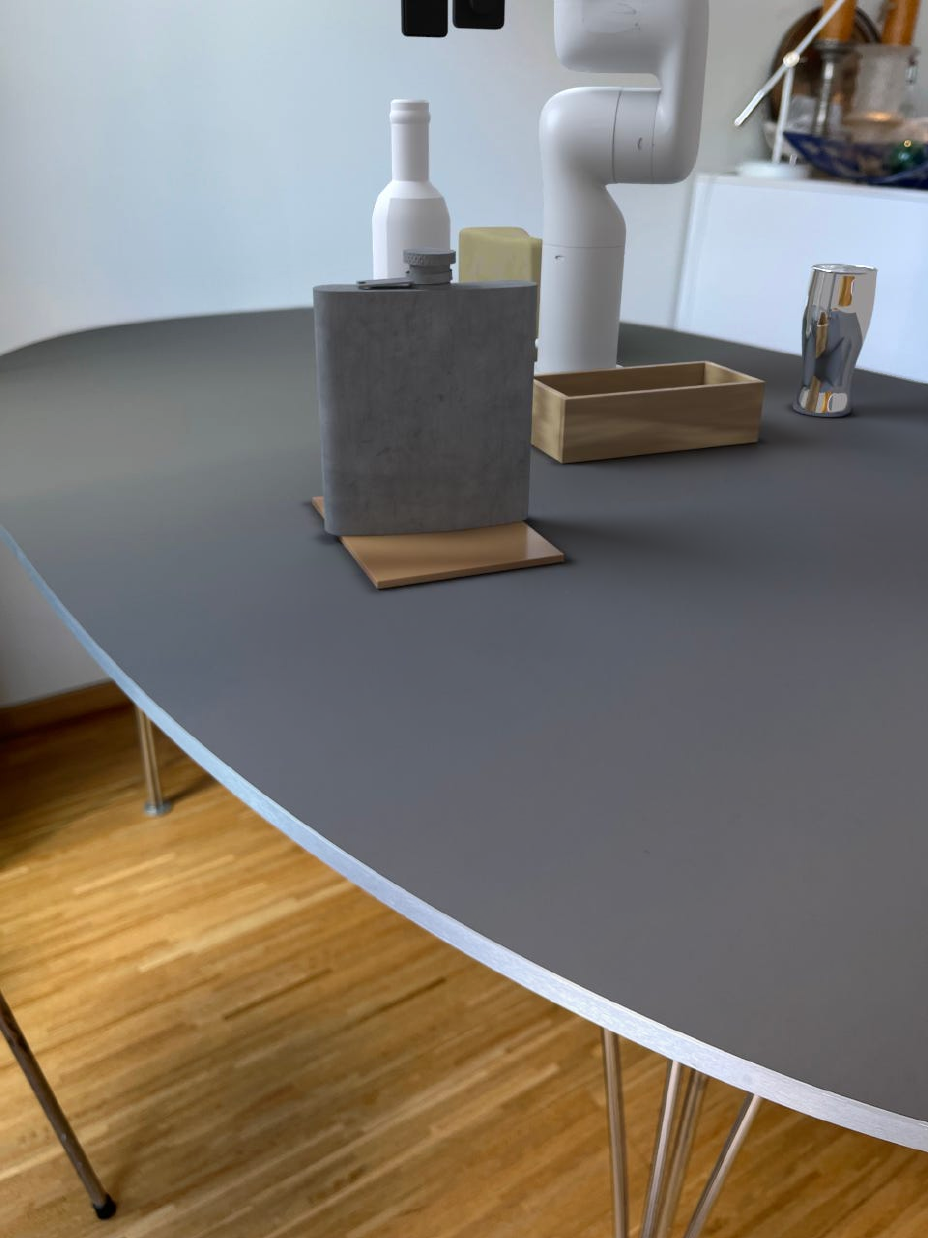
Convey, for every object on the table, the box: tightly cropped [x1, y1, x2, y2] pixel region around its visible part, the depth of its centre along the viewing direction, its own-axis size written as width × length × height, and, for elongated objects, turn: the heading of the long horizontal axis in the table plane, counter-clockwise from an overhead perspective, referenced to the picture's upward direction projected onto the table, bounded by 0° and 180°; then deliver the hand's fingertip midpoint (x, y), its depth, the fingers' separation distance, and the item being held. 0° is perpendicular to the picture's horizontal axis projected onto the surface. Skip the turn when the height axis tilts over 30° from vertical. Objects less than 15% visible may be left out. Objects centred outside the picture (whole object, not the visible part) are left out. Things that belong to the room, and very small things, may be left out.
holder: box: [531, 360, 767, 464], centre depth 101 cm, size 10×22×6 cm, turn 111°
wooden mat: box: [311, 495, 565, 590], centre depth 79 cm, size 18×14×1 cm
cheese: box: [458, 226, 543, 362], centre depth 139 cm, size 22×10×15 cm, turn 14°
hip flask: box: [312, 248, 538, 536], centre depth 75 cm, size 16×4×20 cm, turn 104°
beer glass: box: [792, 263, 879, 418], centre depth 110 cm, size 7×7×15 cm
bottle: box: [371, 98, 451, 280], centre depth 103 cm, size 8×8×30 cm
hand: (450, 32), depth 67 cm, fingers open, 9 cm apart
